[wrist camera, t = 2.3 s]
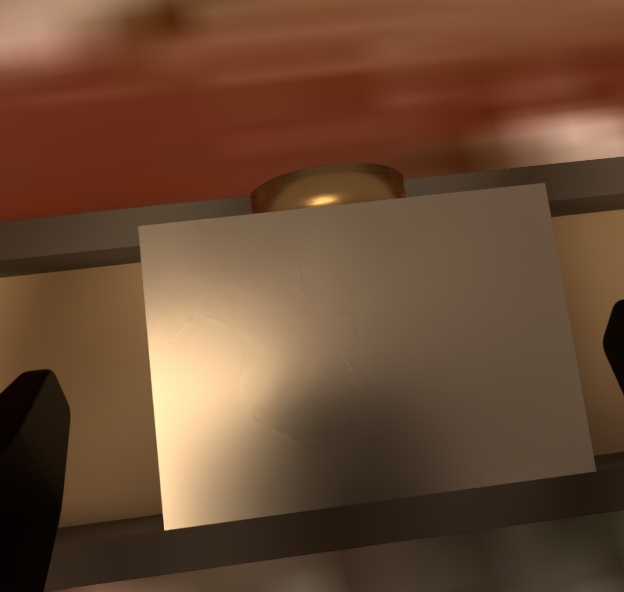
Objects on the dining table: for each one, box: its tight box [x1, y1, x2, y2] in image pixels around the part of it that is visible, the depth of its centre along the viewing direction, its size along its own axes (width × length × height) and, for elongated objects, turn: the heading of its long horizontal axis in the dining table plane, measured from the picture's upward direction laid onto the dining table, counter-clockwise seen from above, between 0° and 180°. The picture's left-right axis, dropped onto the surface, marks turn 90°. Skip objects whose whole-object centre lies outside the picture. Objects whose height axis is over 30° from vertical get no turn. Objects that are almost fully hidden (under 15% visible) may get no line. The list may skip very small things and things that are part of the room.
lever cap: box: [138, 163, 596, 530], centre depth 12 cm, size 4×5×10 cm
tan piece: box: [0, 157, 624, 591], centre depth 17 cm, size 24×9×4 cm, turn 97°
